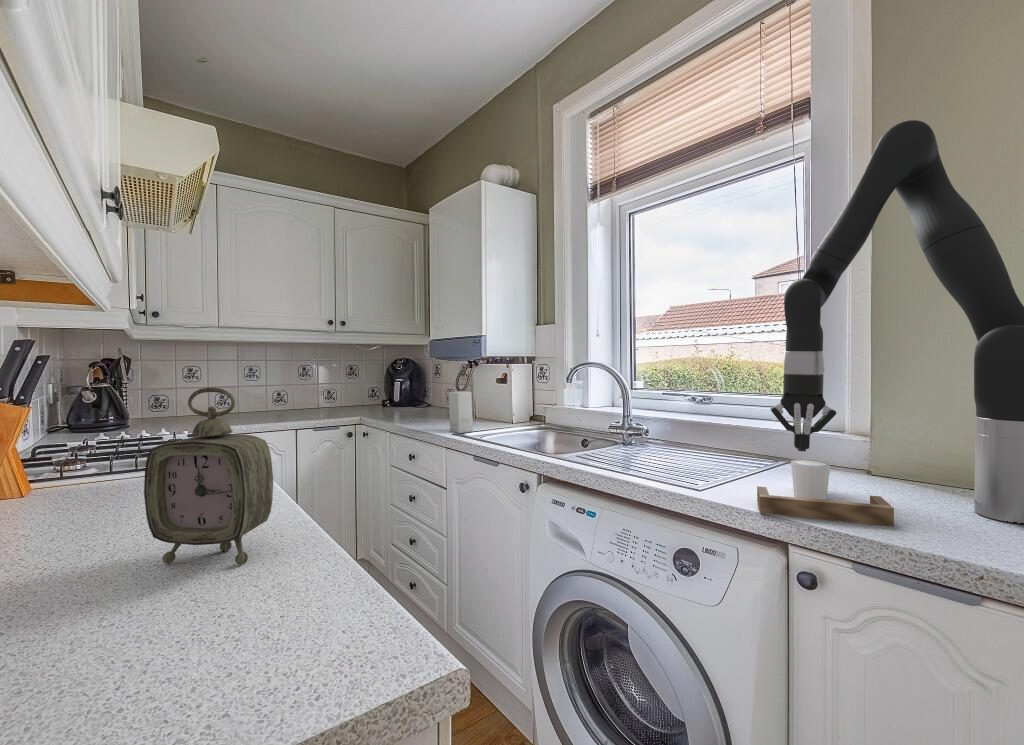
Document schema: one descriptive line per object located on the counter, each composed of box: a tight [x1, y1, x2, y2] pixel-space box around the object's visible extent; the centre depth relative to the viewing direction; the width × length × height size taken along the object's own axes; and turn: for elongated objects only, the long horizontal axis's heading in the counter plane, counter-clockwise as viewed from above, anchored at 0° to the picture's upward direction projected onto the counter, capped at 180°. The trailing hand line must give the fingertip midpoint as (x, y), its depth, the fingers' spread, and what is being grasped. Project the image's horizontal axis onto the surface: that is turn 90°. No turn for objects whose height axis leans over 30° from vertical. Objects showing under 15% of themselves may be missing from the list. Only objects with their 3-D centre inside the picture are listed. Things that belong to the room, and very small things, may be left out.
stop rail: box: [756, 485, 895, 527], centre depth 90 cm, size 20×8×3 cm, turn 67°
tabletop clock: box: [143, 387, 274, 565], centre depth 73 cm, size 14×9×25 cm, turn 87°
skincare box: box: [448, 390, 474, 434], centre depth 193 cm, size 8×7×16 cm
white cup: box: [790, 459, 831, 500], centre depth 100 cm, size 7×7×7 cm
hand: (801, 450), depth 110 cm, fingers closed
